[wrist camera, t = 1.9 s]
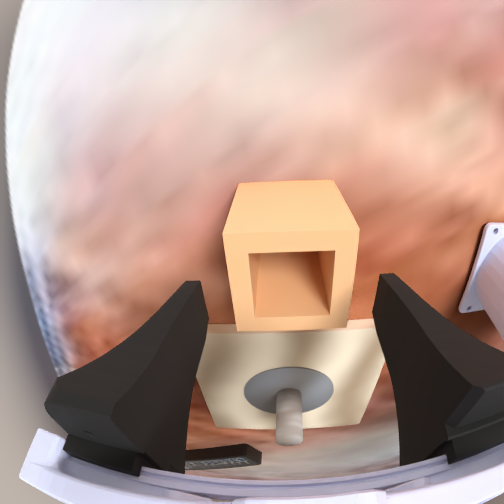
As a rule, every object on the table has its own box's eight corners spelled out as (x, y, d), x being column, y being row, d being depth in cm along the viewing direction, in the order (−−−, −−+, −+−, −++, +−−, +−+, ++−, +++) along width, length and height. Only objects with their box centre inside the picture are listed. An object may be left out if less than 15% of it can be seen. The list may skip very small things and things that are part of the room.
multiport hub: (263, 450, 36) (262, 464, 34) (188, 458, 41) (186, 470, 39) (245, 440, 35) (244, 455, 33) (169, 449, 39) (167, 461, 37)
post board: (392, 316, 21) (415, 379, 16) (357, 416, 29) (364, 462, 24) (183, 323, 23) (163, 386, 18) (217, 420, 31) (210, 465, 26)
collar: (332, 179, 16) (359, 229, 11) (329, 259, 19) (346, 327, 14) (238, 183, 17) (222, 233, 12) (247, 262, 19) (237, 331, 14)
